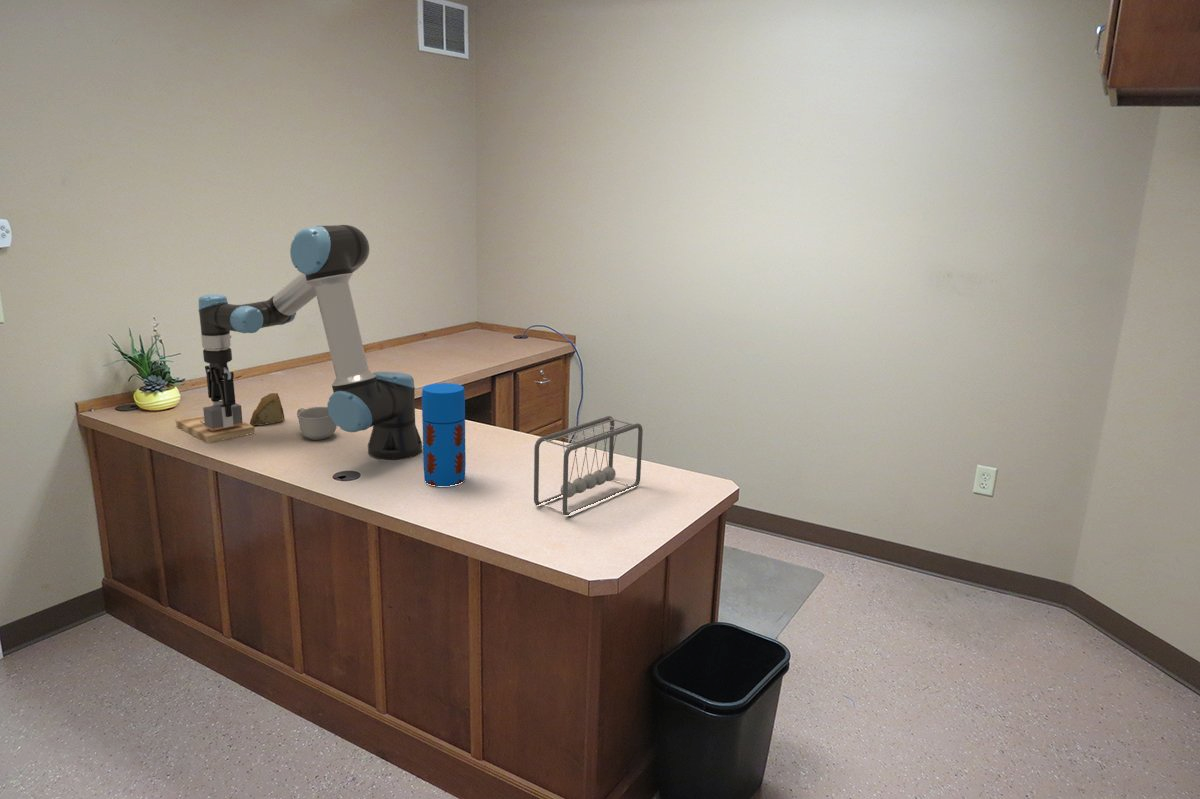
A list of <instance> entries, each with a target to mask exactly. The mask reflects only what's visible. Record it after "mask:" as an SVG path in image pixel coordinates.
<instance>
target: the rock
mask: <svg viewBox="0 0 1200 799" xmlns="http://www.w3.org/2000/svg"><path fill="white" fill-rule="evenodd" d="M284 412H285V411H284V408H283V405H282V403H281V398H280V396H279V393H278V392H277V393H274V392H273V393H272V392H271V393H269V394H267V395H265V396H263V397H262V398H261V399H260V401H259V402H258V405H257V407H256V408H255V409H254V410H253V412H252V415H251V418H250V420H249V425H251V426H254V427H255V425H257V426H260V425H259V424H264V425H267V424H266V423H271V424H274V423H273V422H277V423H281V421H282V422H284V421H285V414H284Z"/></svg>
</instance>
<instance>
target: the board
mask: <svg viewBox="0 0 1200 799" xmlns="http://www.w3.org/2000/svg"><path fill="white" fill-rule="evenodd" d="M175 424H176V427H177V428H178V427H179V428H178V429H180V428H181V430H182V429H183V430H182V431H184V432H186V433H188V434H189V435H192V436H194V437H195V436H196V437H195V438H197V437H198V438H197V439H200V440H201V441H203V442H205V443H207V444H210V443H211V444H212V443H215V441H216V442H220V440H221V441H224V440H223V439H226V440H229V439H228V438H230V439H233V438H232V437H235V438H238V437H237V436H240V437H242V436H241V435H244V436H247V435H246V434H249V435H251V434H250V433H254V432H255V433H256V428H255V426H252V425H251V424H250V423H247V422H245V421H243V425H239V426H234V427H229V428H224V429H219V430H214V431H212V430H210V429H208V428H206V427H205V421H204V414H203V415H197V416H191V417H187V418H181V419H175ZM255 433H254V434H255Z"/></svg>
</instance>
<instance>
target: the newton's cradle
mask: <svg viewBox="0 0 1200 799" xmlns="http://www.w3.org/2000/svg"><path fill="white" fill-rule="evenodd" d="M615 422H618V423H623V424H624V425H622V426H618V427H615ZM607 423H609V424H607ZM606 424H607V426H608V427H609V430H607V429H605V428H604V427H602V429H601V428H599V427H598V426H601V425H602V426H604V425H605V426H606ZM643 428H644V427H643V426H642V424H640V423H639V422H638V423H630V422H627V421H624V420H623V421H622V420H619V419H616V418H613V416H610V415H608V416H603V417H600V418H597V419H595V420H591V421H588V422H583V423H580V424H579V425H576V426H572V427H569V428H566V429H563V430H560V431H557V432H554V433H550V434H547V435H543V436H541V437H539V438H538V439H536V441H535V444H534V450H533V452H534V454H533V455H534V460H533V461H534V464H533V467H534V468H533V471H534V472H533V502H534V504H535V506H537V505H539V504H541V503H543V502H547V501H550V500H551V499H554V498H557V497H559V496H561V495H563V498H562V508H561V509H562V510H561V511H563V513H562V514H563V516H564V515H569V514H570V513H571V512H573V511H576V510H578V509H581V508H583V507H586V506H588V505H591V504H594V503H596V502H598V501H601V500H603V499H606V498H608V497H610V496H612V495H615V494H616V493H619V492H622V491H625V490H626V489H629V488H631V487H634V486H637V485H638V486H639V484H640V482H641V472H642V452H643V431H644V430H643ZM589 429H593V430H592V431H593V432H592V431H588V430H589ZM594 429H598V430H602V431H603V432H601V433H599V434H598V433H595V430H594ZM635 429H638V430H637V432H638V434H637V450H636V451H637V452H636V453H637V455H636V470H635V471H636V476H635V481H634V483H633V484H630V485H631V486H627V487H624V488H622V489H619V490H618V491H615V492H613V493H611V494H608V495H606V496H603V497H601V498H599V499H596V500H594V501H592V502H590V503H587V504H585V505H582V506H580V507H578V508H575V509H576V510H575V509H573V510H571V511H569V512H568V499H569V498H573V497H574V495H575V494H581V493H584V492H585V491H586V490H587V489H588V490H591V489H594V488H595V487H596V486H597V485H598V486H601V485H603V484H604V483H606V482H611V481H612V480H616V481H618V479H615V477H616V470H615V468H614V467H613V466H614V465H613V464H614V463H613V462H614V449H615V445H616V440H617V436H618V435H621V434H624V433H626V432H629V431H632V430H635ZM582 431H583V432H582ZM579 432H582V433H583V435H582V437H583V439H581V440H576V439H575V435H576V436H580V437H581V435H580V434H577V433H579ZM585 432H587V433H590V434H591V433H592V434H593V436H589V437H587V436H585ZM570 435H572V437H573V439H572V438H568V437H567V436H570ZM561 438H563V439H562V443H558V442H556V441H555V440H558V439H561ZM564 438H565V439H568V440H572V441H573V442H572V443H568V444H565V443H564ZM608 440H609V441H608ZM601 441H603V442H604V450H603V456H602V460H601V463H600V464H601V465H600V468H599V463H598V460H596V465H597V466H596V467H597V468H599V469H597V470H595V471H594V472H593V466H594V462H595V461H594V460H595V457H596V459H598V453H597V445H598V442H601ZM543 442H547V443H550V444H554V445H557V446H560V447H563V448H566V449H563V470H562V471H563V472H562V473H563V474H562V475H563V476H562V485H561V486H560V493H559V494H556V495H554V496H552V497H549V498H546V499H543V500H541V501H539V493H540V490H539V489H540V488H539V486H540V483H539V482H540V480H539V479H540V478H539V477H540V474H539V473H540V445H541V443H543ZM607 442H609V444H608V445H609V446H608V447H609V448H608V453H606V452H607V447H606V446H607ZM592 444H594V447H595V448H594V455H593V461H592V464H591V470H590V472H589V470H587V474H585V475H584V476H583V469H584V464H585V460H588V456H587V449H588V446H589V445H592ZM583 447H584V449H585V450H584V451H585V453H584V458H583V461H582V462H583V463H582V468H581V474H580V476H579V474H577V477H576V478H575V479H574V480H573V481H572V482H571V480H572V479H571V478H572V475H573V470H574V464H575V461H576V464H578V460H577V459H578V458H577V452H578V449H581V448H583ZM572 451H574V452H575V453H574V458H573V464H572V469H571V471H570V472H571V473H570V478H569V458H570V457H569V455H570V454H571V452H572ZM604 456H605V459H606V460H608V462H606V467H604V468H602V467H603V466H602V465H603V461H604ZM578 466H579V465H576V470H577V472H579V468H578ZM586 467H587V468H586V469H589V464H588V462H586ZM592 472H593V473H592ZM582 476H583V478H582ZM616 481H615V482H616ZM638 486H637V487H638Z"/></svg>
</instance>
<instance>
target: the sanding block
mask: <svg viewBox="0 0 1200 799" xmlns="http://www.w3.org/2000/svg"><path fill="white" fill-rule="evenodd" d="M220 405H223V404H220ZM220 405H215V406H213V405H209V406H205V407H204V406H203V408H202V410H203V415H204V421H205V427H206V428H208V429H210V430H212V431H214V430H219V429H224V427H223V418H222V407H221V406H220ZM242 412H243V411H242V405H241V404H239V403H236V402H235V404H234V405H232V414H233V425H234V426H239V425H243V422H244V421H243V413H242ZM234 426H231V427H234ZM226 428H229V427H226Z"/></svg>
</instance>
